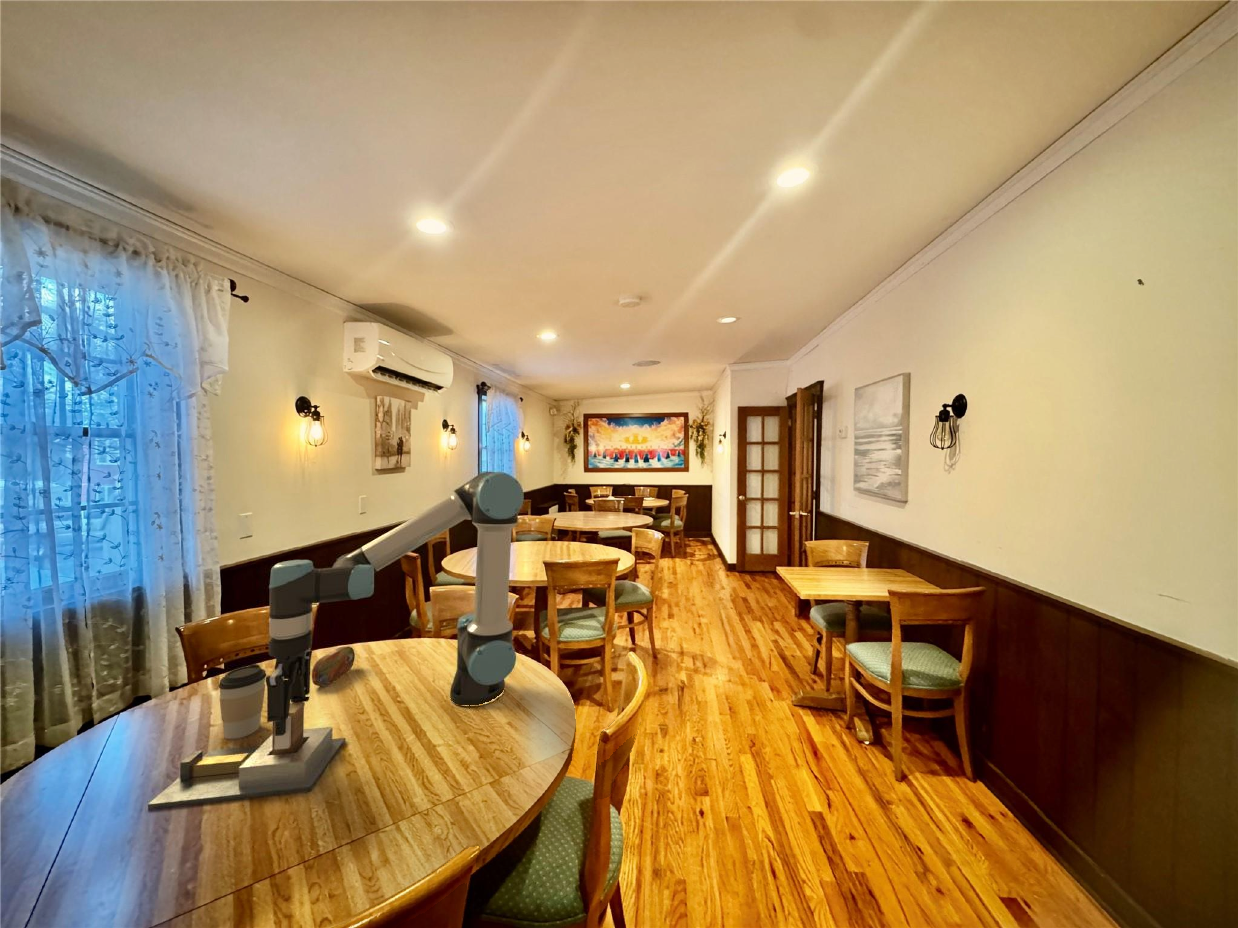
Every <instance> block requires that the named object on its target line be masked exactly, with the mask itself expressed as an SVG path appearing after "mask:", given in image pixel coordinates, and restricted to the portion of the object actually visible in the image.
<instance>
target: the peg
mask: <svg viewBox="0 0 1238 928" xmlns="http://www.w3.org/2000/svg"><path fill="white" fill-rule="evenodd" d="M305 703H306V702H298V703H291V702H290V708H289V715H288V716H291V746H290V747H289V748H286V749H276V750H274V744H275V722H272V734H273V737H272V755H279V754H289V753H297V752H298V750H299V749H300V748H301V747H302V746H303V730H304V729H305V728H304V727H305V726H304V723H305V721H304V720H305V717H304V716H305V715H304V713H305V705H306V704H305Z"/></svg>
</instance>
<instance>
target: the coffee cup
mask: <svg viewBox="0 0 1238 928" xmlns="http://www.w3.org/2000/svg"><path fill="white" fill-rule="evenodd" d="M266 677H267V673H266V670H265V669H264V668H261V666H260V665H259V664H257V663H252V664H250V665H248V666H247V665H246V666H241V667H237V668H235V669H233V670H230V671H228V672H227V673H225V676H223V677H222V678H221V679H220V681H219V683H218V686H217V688H219V697H218V698H219V703H220V704H219V705H220V714H221V715H220V716H221V721H222V729H223V738H224V739H227V740H236V739H241V738H243V737H244V738H245V737H247V736H249V735H251V734H253V733H255V732H256V731H258V730H259V729H260V728H261V721H262V711H263V707H264V699H265V690H266Z"/></svg>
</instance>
